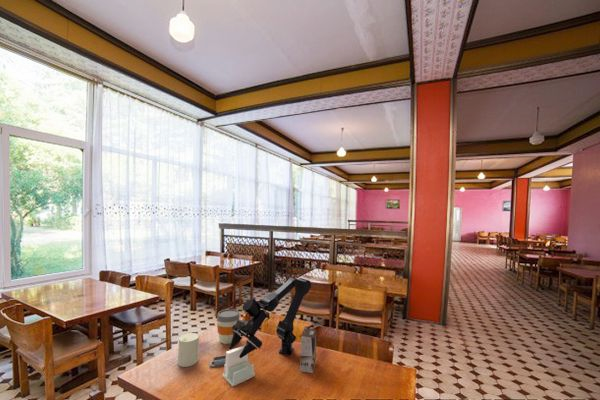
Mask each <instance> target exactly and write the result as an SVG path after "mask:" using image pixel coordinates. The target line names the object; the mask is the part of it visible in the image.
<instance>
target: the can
mask: <svg viewBox="0 0 600 400" xmlns="http://www.w3.org/2000/svg"><path fill="white" fill-rule="evenodd" d="M199 339H200V334H198V333H197V332H196V333H195V332H189V333H184V334H182V335H180V336H179V337H178V352H177V354H178V355H177V362H176V363H177V364H176V365H178V367H182V368H187V367H192V366H194V365H195V364H196V363H198V362H199V341H200V340H199Z"/></svg>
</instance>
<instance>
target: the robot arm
mask: <svg viewBox="0 0 600 400" xmlns="http://www.w3.org/2000/svg"><path fill="white" fill-rule="evenodd" d="M311 287H312V283H311V281H310V280H309V279H306V278H303V277H299V278H295V277H289V278H288V279H287V280H286V282H284V283H283V284H282V285H280V287H278V289H277V290H275V291H274V292H272V293H269V294H267V295H265V296H263V298H261V299H260V300H258V301H257V300H256V299H255V298H254V297H251V298H250V299H248V300H246V301H245V302H244V303H243V305H242V310H243V311H244V312H245V313H246V314H247V315H248V316H250V317H251V318H249V319H247V320H246V321H245V320H242V319H239V320H237V322H236V324H235V325H234V326H233V327H232V329H233V330H234V331H233V330H232V331H233V338H232V341H231V343H229V347H228V350H229V351H230V350H232V349H234V347H236V345H238V343H240V341H241V340H243V337H245V338H246V341H245V342H246V343H245V345H246V346H245V347H244V349H243V351H242V352H241V354H240V356H239V358H242V357H244V356H245V355H247V354H248V355H249V353H252V352H253V351H255V350H258V349H259V350H260V349H261V347H262V346H263V341H262V340H260V339H259V338H258V337H257V336H256V333H257V332H258V330H259V331H261V329H262V328H261V327H262V325H263V323H264V322H265V320H266V319H268V320H270V318H271V317H270V313H272V312H273V311H275V309H277V307H278V306H279V303H280V301H281V300H282V299H283V298H284V297H285V296H286V295H287V294H289V292H291V291H292V290H293V289H294V295H293V297H292V299H291V302H290V304H289V307H288V310H287V312H286V314H285V317H284V319H283V320H281V319H280V320H279V321H278V324H277V326H276V330H275V332H276V335H277V337H278V339H280V340H281V341H280V343H281V346H280V350H279V352H278V353H279V354H281V355H287V356H291V355H292V354H293V352H294V350H295V348H294V347H293V343H294V342H296V340H297V336H296V335H295V334H294V333H293V332H294V328H295V327H294V322H295V320H296V319H295V318H296V317H297V314H298V311H299V309H300V306H301V303H302V301H303V299H304V297H305V296H306V295H307V294H308V293H309V291H310V290H311ZM269 312H270V313H269Z"/></svg>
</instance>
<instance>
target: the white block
mask: <svg viewBox="0 0 600 400" xmlns="http://www.w3.org/2000/svg"><path fill="white" fill-rule="evenodd" d="M245 346H246V344H243V345H241V346H238V347H235V348H232V349H231V350H230V349H229V350H228V351H227V350H226V352H225V355H226V363H225V375H226V377H228V373H229V368H231V367H234V366H236V365H238V364H241V363H243V362H245V361H248V359H249V358H248V357H249V353H248V354H247V355H245V356H244V357H242V358H239V356H240V354H241V352H242V351H243V349H244V347H245Z"/></svg>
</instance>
